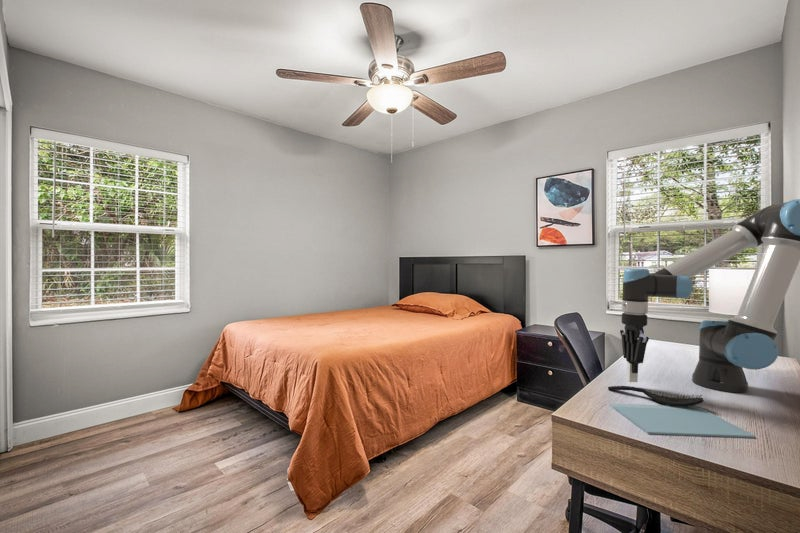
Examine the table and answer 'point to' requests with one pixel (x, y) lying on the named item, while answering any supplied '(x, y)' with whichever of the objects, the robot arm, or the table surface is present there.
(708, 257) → the robot arm
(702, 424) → the plate
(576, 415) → the table surface
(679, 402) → the hairbrush
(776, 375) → the table surface
